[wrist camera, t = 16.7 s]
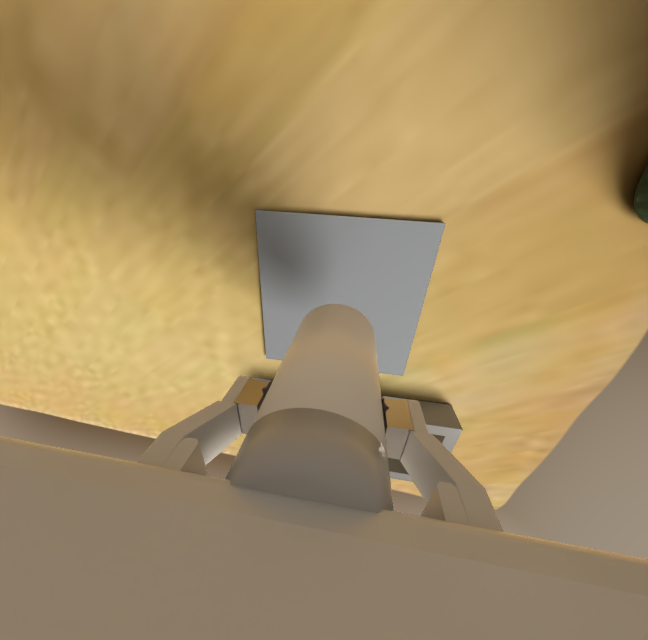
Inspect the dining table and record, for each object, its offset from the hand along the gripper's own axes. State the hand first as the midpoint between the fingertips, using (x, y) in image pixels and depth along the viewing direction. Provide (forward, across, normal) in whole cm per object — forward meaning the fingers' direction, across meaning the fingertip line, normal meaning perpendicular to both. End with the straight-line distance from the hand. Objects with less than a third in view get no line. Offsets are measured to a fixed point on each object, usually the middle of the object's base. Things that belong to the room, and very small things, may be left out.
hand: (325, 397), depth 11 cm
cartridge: (+5, 0, 0) cm, 5 cm away
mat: (+11, 0, 0) cm, 11 cm away
